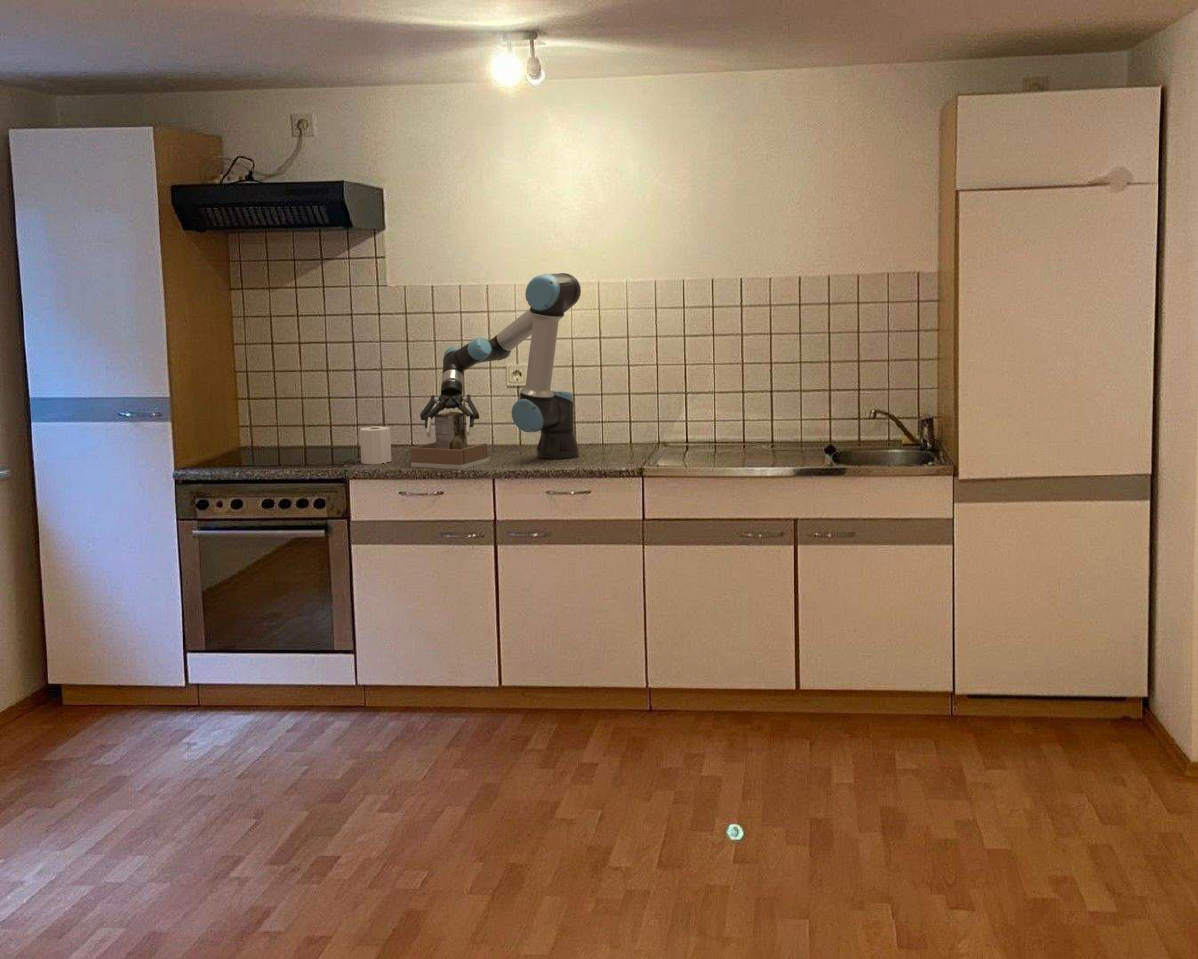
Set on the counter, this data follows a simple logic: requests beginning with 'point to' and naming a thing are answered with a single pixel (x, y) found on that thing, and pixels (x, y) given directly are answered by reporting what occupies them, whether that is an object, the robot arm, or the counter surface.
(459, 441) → the coffee box
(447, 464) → the tray
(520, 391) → the robot arm
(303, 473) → the counter surface
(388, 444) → the toilet paper
